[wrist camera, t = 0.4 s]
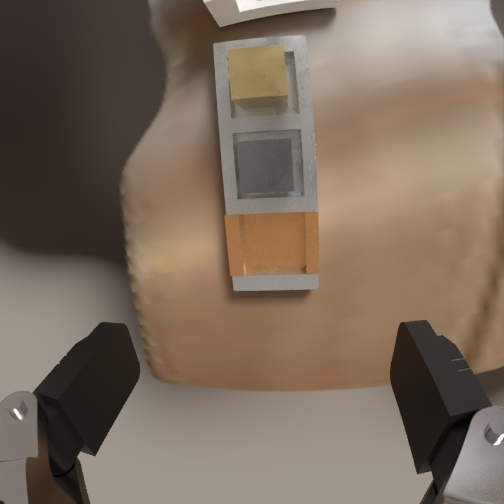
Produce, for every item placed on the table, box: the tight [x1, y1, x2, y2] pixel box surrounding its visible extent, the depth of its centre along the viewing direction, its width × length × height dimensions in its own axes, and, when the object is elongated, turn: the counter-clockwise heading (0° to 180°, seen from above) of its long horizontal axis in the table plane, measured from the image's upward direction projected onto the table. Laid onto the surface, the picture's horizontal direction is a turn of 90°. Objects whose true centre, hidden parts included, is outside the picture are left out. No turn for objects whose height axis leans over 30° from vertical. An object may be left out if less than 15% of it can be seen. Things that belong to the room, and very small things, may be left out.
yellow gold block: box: [228, 45, 288, 109], centre depth 25 cm, size 4×4×6 cm
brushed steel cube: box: [238, 138, 294, 194], centre depth 28 cm, size 4×4×5 cm
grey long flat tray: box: [213, 36, 319, 291], centre depth 30 cm, size 26×9×3 cm, turn 4°
